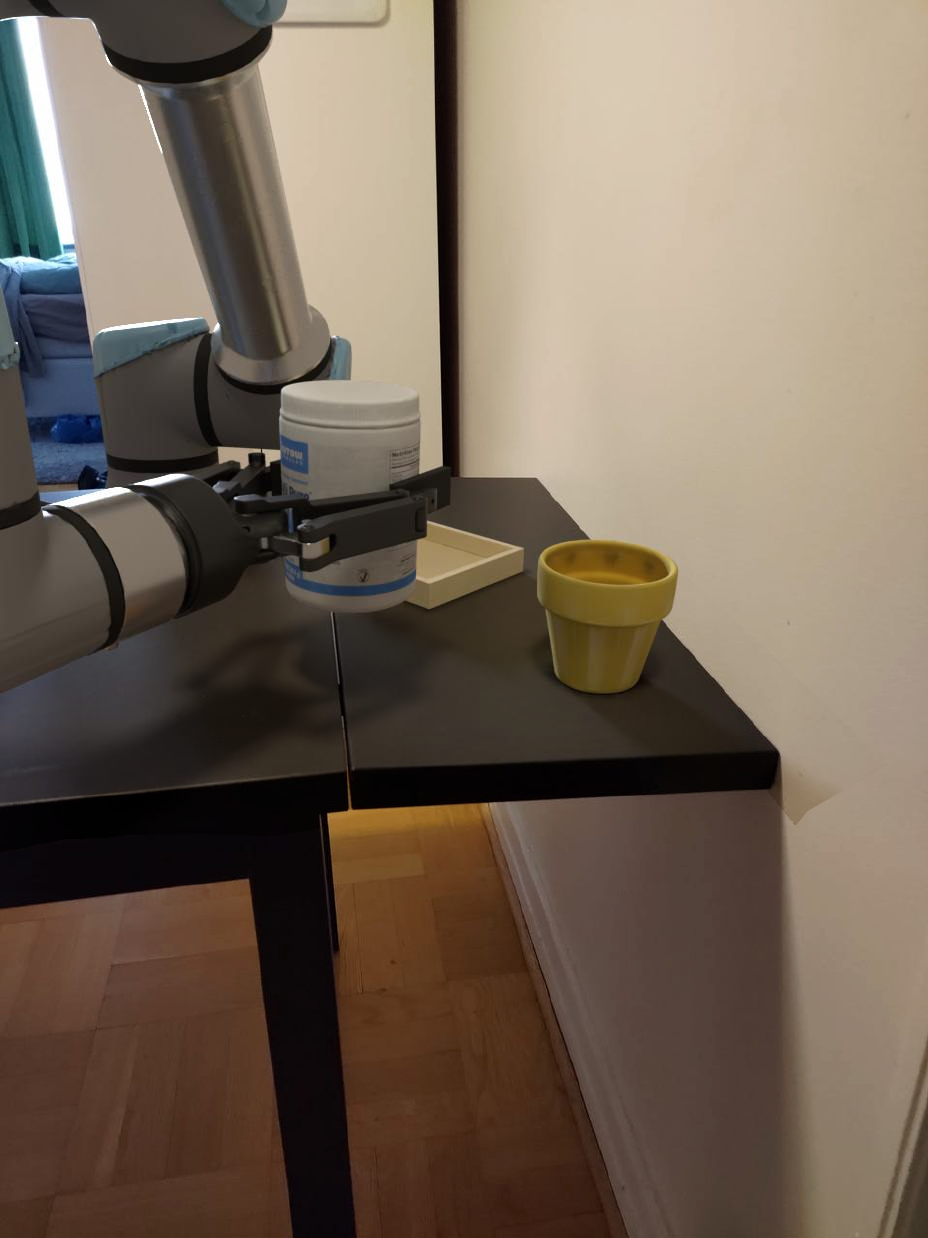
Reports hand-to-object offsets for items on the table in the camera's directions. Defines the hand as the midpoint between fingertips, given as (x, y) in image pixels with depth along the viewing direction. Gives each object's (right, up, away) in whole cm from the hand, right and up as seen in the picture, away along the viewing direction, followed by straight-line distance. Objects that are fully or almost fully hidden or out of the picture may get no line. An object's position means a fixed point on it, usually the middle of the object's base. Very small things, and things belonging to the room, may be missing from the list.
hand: (387, 474), depth 63 cm
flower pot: (+16, -15, +5) cm, 23 cm away
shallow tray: (+2, -6, +26) cm, 26 cm away
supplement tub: (-3, -9, 0) cm, 9 cm away
